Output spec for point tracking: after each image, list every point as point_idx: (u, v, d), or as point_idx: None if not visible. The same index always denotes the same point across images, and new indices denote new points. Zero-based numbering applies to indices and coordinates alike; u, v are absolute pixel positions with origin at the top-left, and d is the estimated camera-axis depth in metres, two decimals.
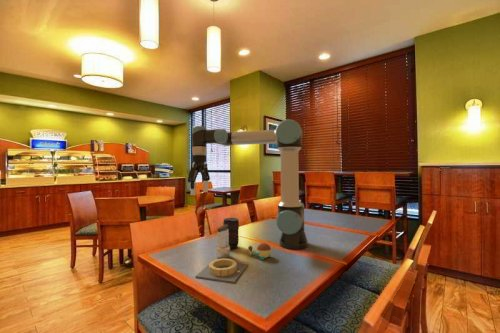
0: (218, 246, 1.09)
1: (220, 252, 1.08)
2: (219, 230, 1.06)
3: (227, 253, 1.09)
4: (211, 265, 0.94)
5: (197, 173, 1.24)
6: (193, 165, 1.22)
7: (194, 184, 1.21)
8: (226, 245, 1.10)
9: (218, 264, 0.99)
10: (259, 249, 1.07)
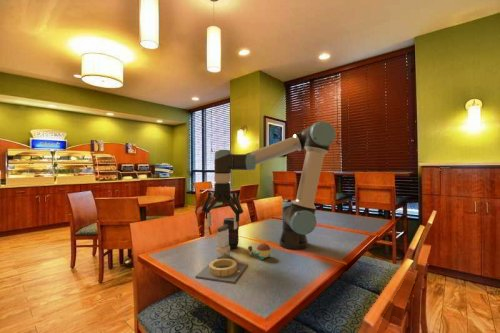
0: (218, 246, 1.09)
1: (220, 252, 1.08)
2: (219, 230, 1.06)
3: (227, 253, 1.09)
4: (211, 265, 0.94)
5: (212, 203, 1.11)
6: None
7: (207, 215, 1.12)
8: (226, 245, 1.10)
9: (218, 264, 0.99)
10: (259, 249, 1.07)
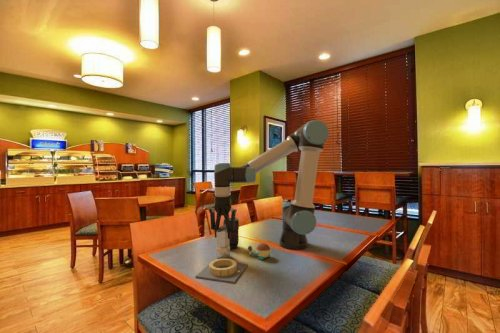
0: (218, 246, 1.09)
1: (220, 252, 1.08)
2: (219, 230, 1.06)
3: (227, 253, 1.09)
4: (211, 265, 0.94)
5: (217, 219, 1.10)
6: None
7: (216, 233, 1.11)
8: None
9: (218, 264, 0.99)
10: (258, 249, 1.07)
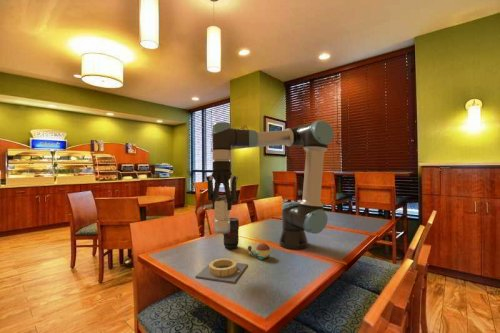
0: (216, 218, 0.95)
1: (218, 225, 0.93)
2: (217, 199, 0.92)
3: (227, 226, 0.94)
4: (211, 265, 0.94)
5: (215, 187, 0.96)
6: None
7: (214, 204, 0.96)
8: None
9: (218, 264, 0.99)
10: (258, 249, 1.07)
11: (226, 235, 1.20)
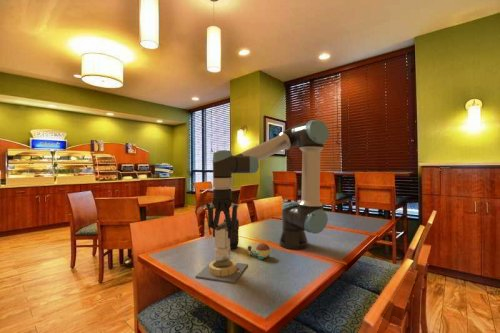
0: (217, 247, 0.94)
1: (219, 254, 0.92)
2: (218, 228, 0.91)
3: (227, 255, 0.93)
4: (211, 265, 0.94)
5: (216, 215, 0.95)
6: None
7: (215, 232, 0.95)
8: None
9: (218, 264, 0.99)
10: (258, 249, 1.07)
11: None
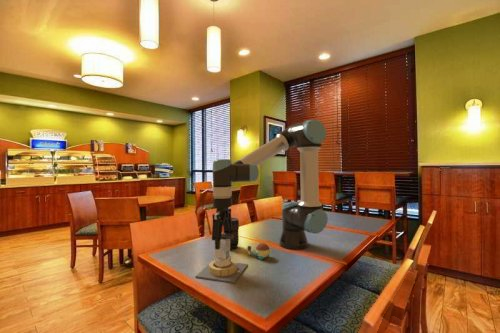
0: (226, 258, 0.94)
1: (230, 263, 0.95)
2: (233, 236, 0.94)
3: None
4: (211, 265, 0.94)
5: (222, 225, 0.92)
6: (216, 217, 0.89)
7: (220, 243, 0.91)
8: None
9: None
10: (258, 249, 1.07)
11: None
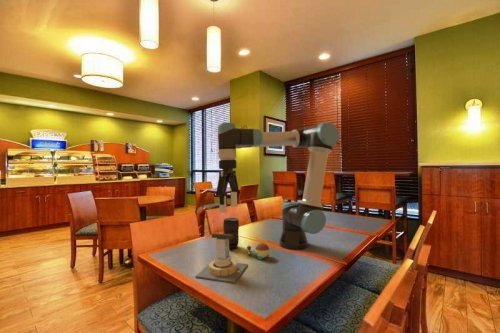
0: (225, 258, 0.94)
1: (230, 263, 0.95)
2: (232, 236, 0.94)
3: None
4: (211, 265, 0.94)
5: (227, 184, 0.96)
6: (222, 174, 0.93)
7: (224, 198, 0.93)
8: None
9: None
10: (257, 249, 1.07)
11: None
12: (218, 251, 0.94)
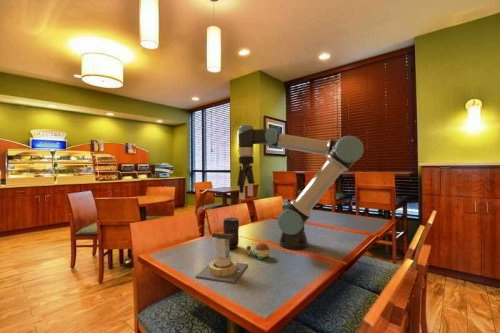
0: (225, 257, 0.94)
1: (230, 262, 0.95)
2: (232, 236, 0.95)
3: None
4: (211, 265, 0.94)
5: (245, 176, 1.15)
6: (242, 167, 1.13)
7: (243, 188, 1.13)
8: None
9: None
10: (257, 249, 1.08)
11: None
12: (218, 250, 0.94)
